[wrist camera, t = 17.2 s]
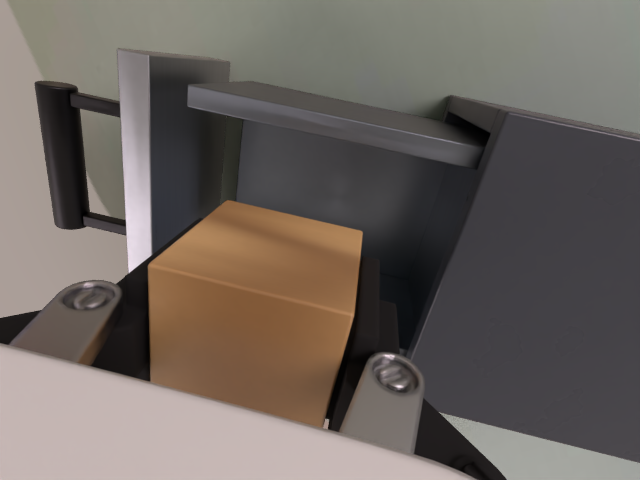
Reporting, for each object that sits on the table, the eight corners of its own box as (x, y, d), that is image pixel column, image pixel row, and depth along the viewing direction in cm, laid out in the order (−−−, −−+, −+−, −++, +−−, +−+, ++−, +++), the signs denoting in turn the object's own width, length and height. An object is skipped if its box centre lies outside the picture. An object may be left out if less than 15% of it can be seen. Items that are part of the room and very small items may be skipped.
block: (217, 310, 13) (149, 410, 9) (226, 198, 11) (145, 263, 7) (334, 339, 13) (315, 454, 9) (363, 230, 11) (354, 314, 7)
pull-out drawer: (119, 223, 25) (17, 282, 18) (108, 36, 20) (-39, 14, 13) (412, 293, 24) (427, 384, 17) (476, 113, 19) (534, 136, 12)
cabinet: (388, 288, 25) (393, 401, 16) (449, 94, 20) (507, 110, 11) (618, 343, 24) (752, 492, 16) (749, 157, 19) (1067, 227, 10)
